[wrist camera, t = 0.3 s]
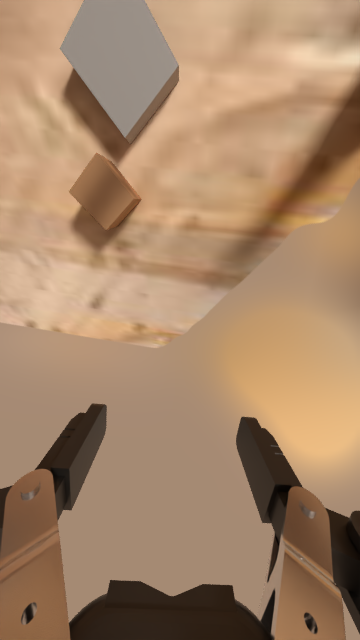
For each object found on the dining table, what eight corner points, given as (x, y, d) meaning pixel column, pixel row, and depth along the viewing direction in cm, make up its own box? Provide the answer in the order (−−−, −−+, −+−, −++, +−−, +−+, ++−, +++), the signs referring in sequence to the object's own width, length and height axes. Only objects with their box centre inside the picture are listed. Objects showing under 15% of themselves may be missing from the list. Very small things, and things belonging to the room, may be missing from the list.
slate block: (75, 68, 22) (59, 48, 19) (123, -19, 19) (113, -59, 16) (130, 145, 26) (124, 137, 23) (178, 82, 23) (178, 65, 20)
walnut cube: (87, 193, 29) (68, 191, 24) (111, 161, 27) (96, 152, 22) (117, 225, 32) (105, 230, 26) (141, 199, 29) (133, 198, 24)
